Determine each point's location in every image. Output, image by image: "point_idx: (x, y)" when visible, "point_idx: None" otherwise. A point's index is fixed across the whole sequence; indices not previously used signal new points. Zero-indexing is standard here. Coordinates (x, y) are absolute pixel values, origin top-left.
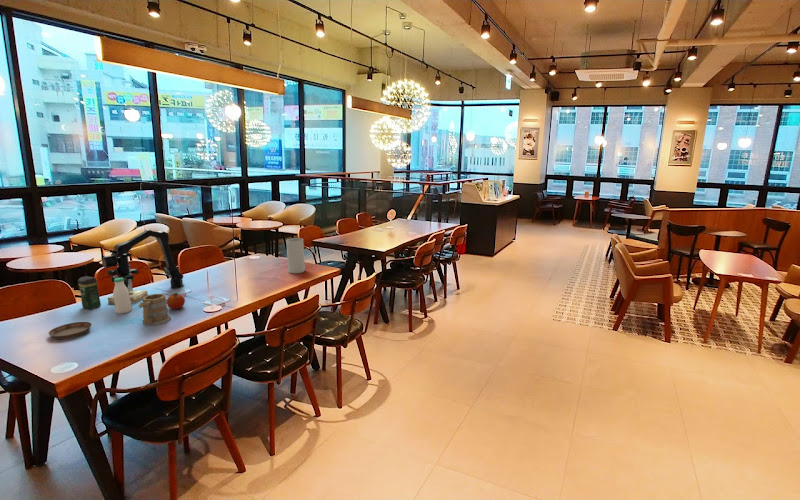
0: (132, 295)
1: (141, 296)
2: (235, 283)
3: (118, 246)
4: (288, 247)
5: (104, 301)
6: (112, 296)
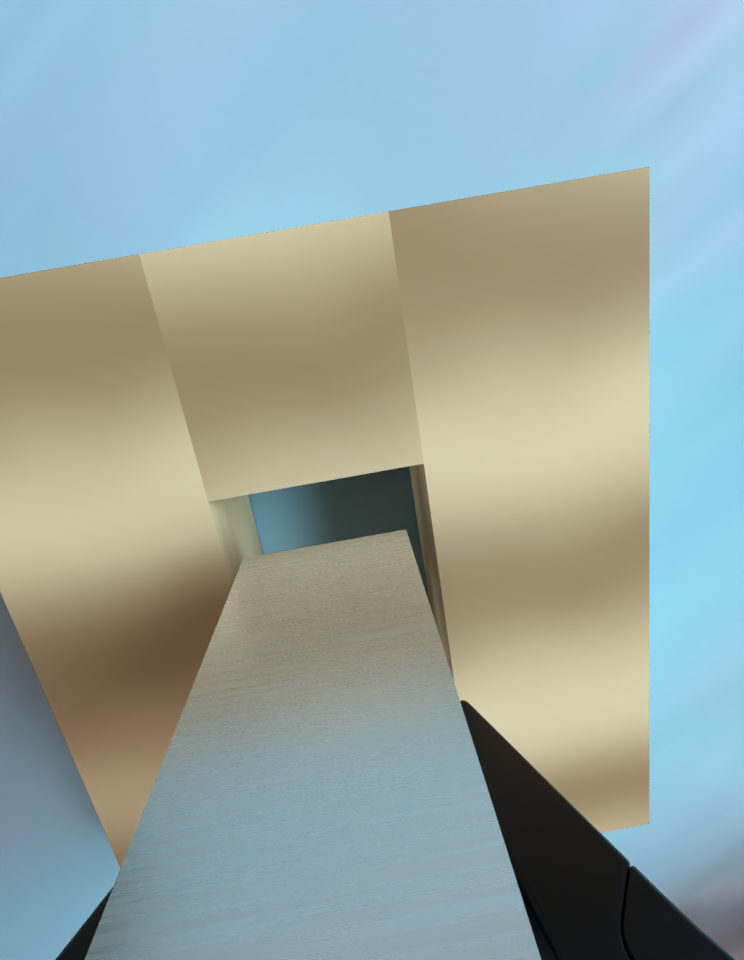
0: None
1: None
2: None
3: None
4: None
5: (68, 42)
6: (35, 351)
